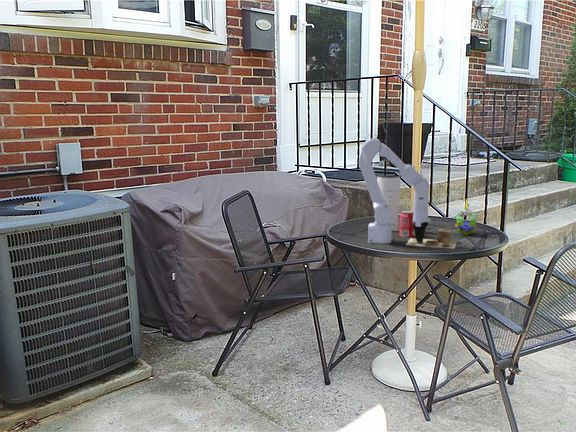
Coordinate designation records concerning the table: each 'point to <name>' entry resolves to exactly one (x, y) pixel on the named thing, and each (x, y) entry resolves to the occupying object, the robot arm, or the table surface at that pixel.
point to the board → (432, 243)
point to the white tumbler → (391, 196)
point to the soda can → (406, 224)
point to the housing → (443, 235)
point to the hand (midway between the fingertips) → (419, 240)
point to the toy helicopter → (466, 226)
